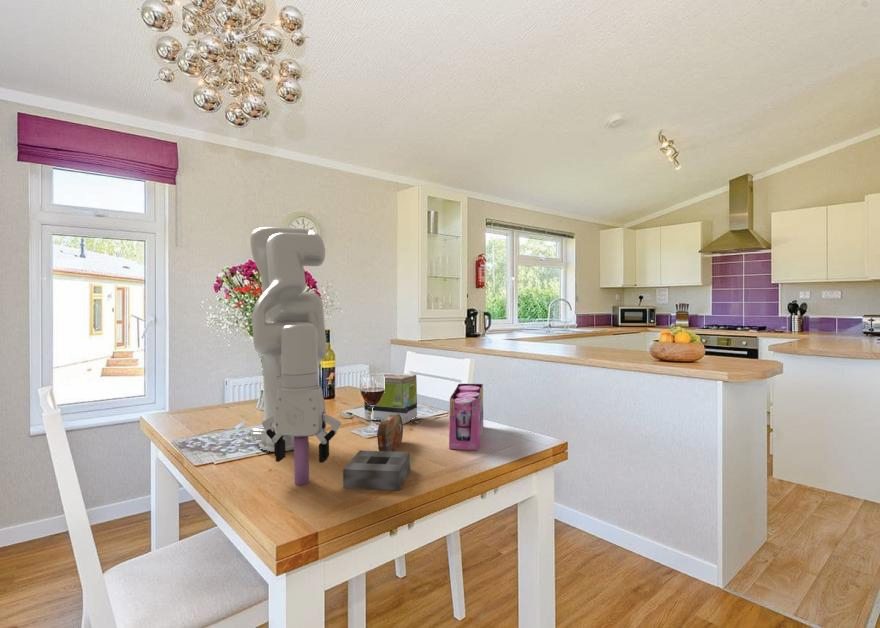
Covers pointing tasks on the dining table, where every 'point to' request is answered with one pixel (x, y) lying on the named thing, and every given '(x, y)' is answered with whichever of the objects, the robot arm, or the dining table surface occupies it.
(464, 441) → the gum box
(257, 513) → the dining table surface
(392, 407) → the tea box
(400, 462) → the hole block
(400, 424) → the tin
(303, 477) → the peg
